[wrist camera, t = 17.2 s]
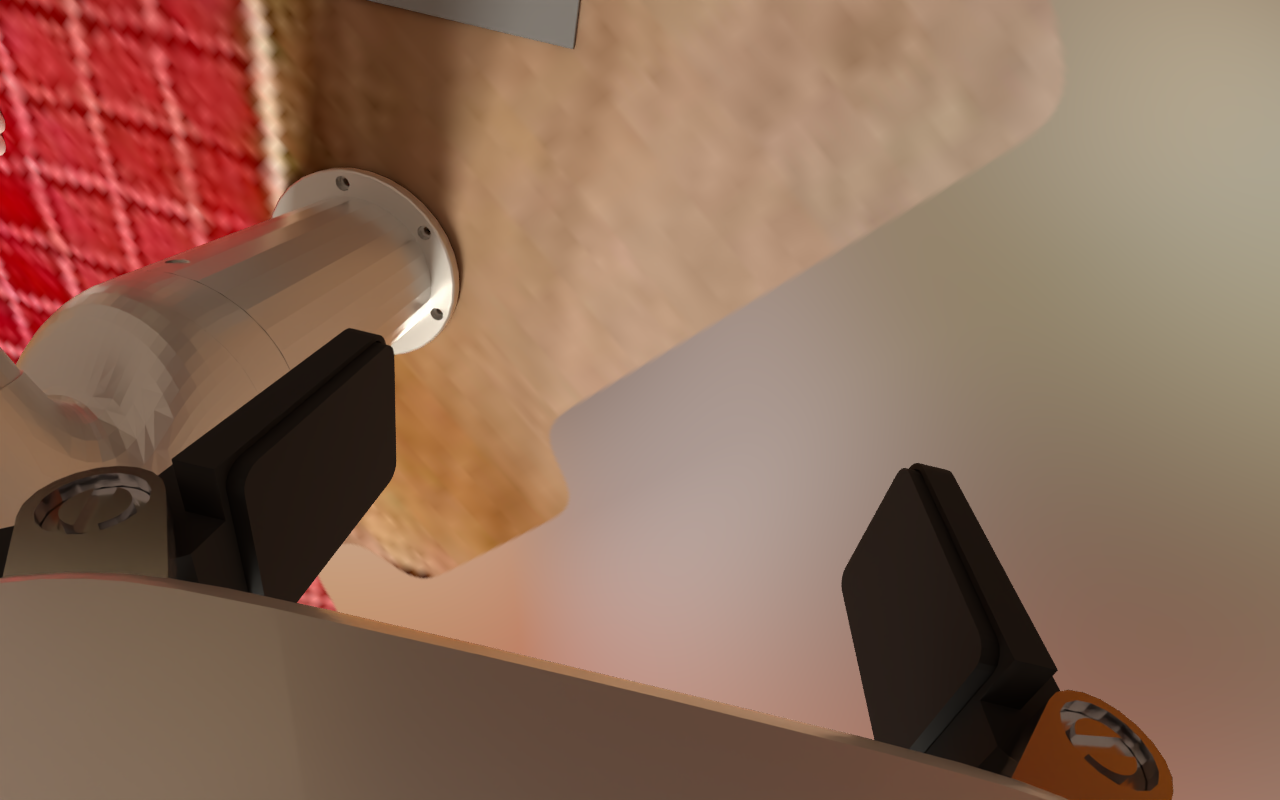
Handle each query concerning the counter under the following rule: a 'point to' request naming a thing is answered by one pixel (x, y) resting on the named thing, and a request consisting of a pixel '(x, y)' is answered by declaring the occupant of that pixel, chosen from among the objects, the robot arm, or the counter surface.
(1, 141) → the mooncake
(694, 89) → the counter surface
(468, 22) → the mat
